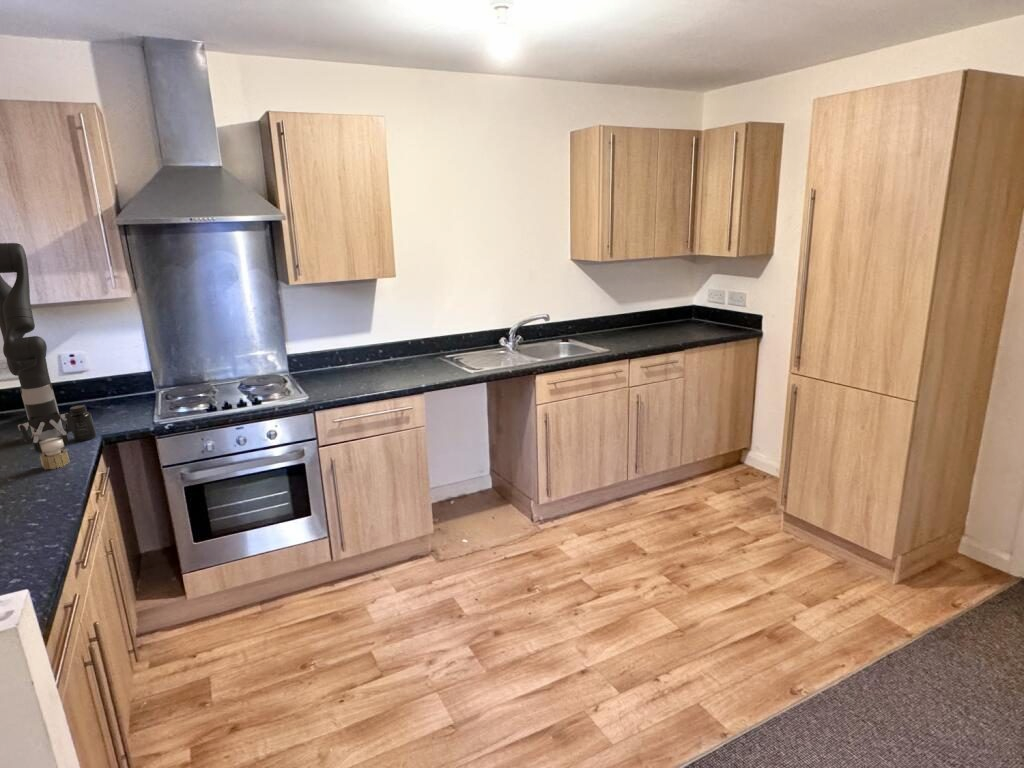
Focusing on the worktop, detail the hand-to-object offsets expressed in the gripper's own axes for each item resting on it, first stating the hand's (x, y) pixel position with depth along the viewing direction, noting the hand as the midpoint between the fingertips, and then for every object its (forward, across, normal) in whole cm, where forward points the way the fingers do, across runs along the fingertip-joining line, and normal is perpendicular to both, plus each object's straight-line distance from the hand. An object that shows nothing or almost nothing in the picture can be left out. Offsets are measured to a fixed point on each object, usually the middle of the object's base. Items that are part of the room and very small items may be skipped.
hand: (52, 449), depth 198 cm
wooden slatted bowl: (+6, 0, 0) cm, 6 cm away
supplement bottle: (+6, -15, -21) cm, 26 cm away
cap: (+2, 0, 0) cm, 2 cm away
